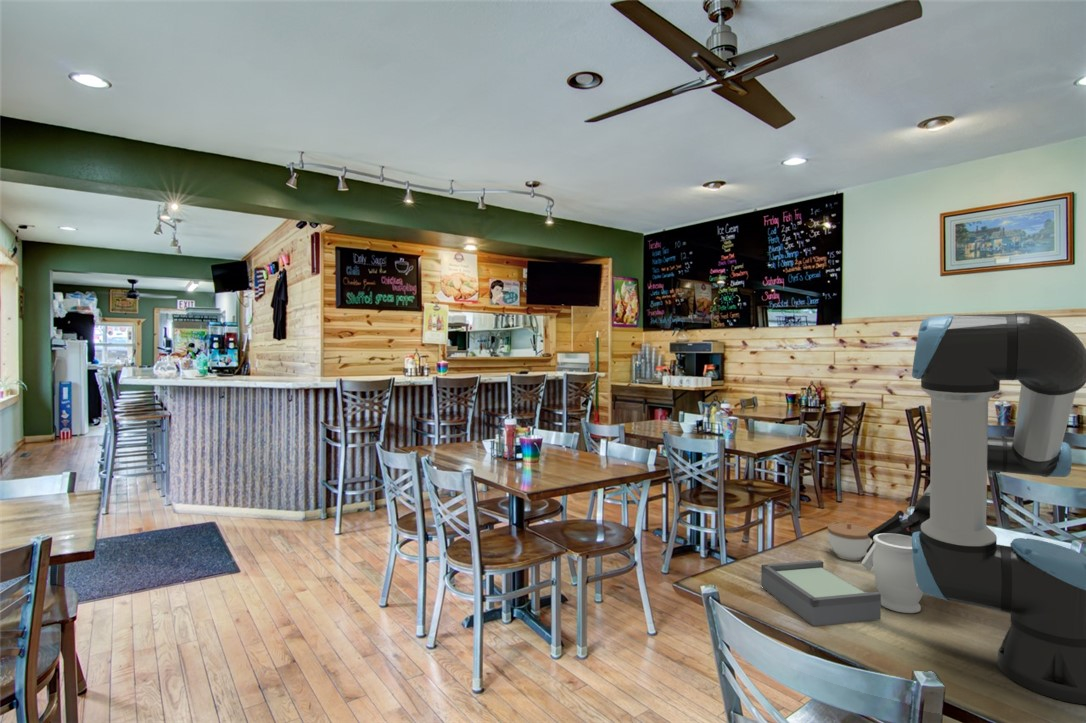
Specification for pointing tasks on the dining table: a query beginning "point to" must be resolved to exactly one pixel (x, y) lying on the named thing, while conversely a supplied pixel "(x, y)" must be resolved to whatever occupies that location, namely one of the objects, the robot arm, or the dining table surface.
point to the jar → (896, 573)
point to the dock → (819, 593)
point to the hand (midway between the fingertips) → (891, 577)
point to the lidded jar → (849, 540)
